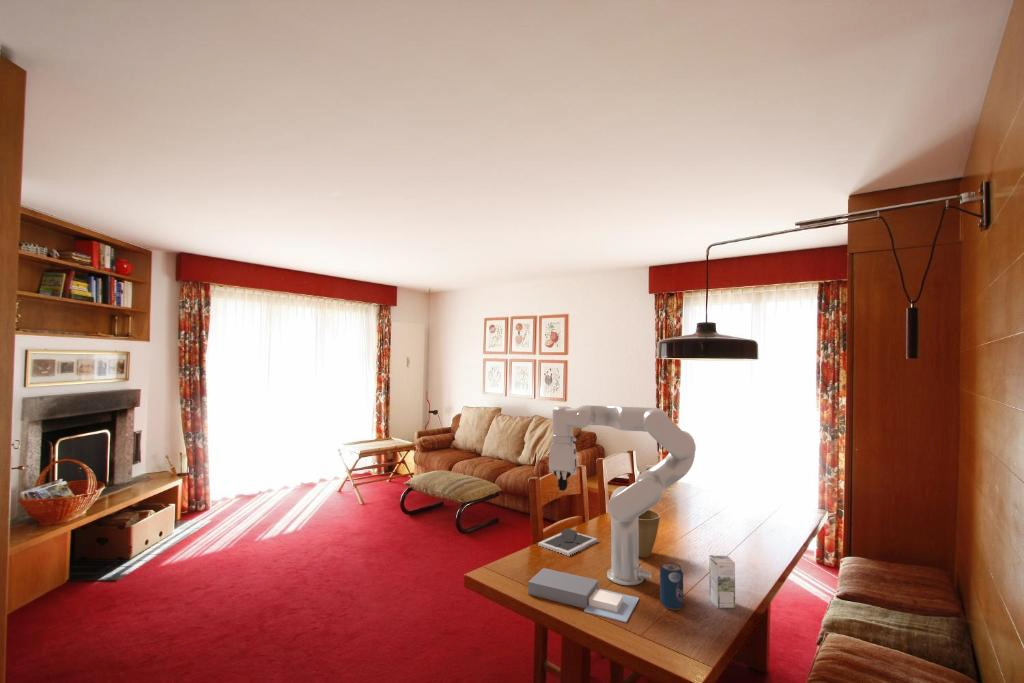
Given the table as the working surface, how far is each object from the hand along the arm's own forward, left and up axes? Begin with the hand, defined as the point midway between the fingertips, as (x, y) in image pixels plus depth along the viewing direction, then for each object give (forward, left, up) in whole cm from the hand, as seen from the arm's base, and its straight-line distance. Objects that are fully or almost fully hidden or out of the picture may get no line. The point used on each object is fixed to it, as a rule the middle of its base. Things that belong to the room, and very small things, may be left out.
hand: (562, 489), depth 176 cm
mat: (-23, +17, -29) cm, 41 cm away
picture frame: (+7, -24, -30) cm, 39 cm away
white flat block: (-22, +18, -29) cm, 40 cm away
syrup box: (-54, 0, -29) cm, 61 cm away
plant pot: (-22, -28, -29) cm, 46 cm away
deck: (-7, +17, -29) cm, 34 cm away
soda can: (-40, +8, -29) cm, 50 cm away
